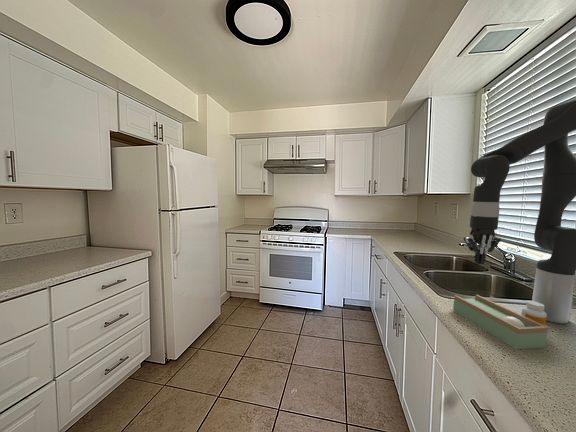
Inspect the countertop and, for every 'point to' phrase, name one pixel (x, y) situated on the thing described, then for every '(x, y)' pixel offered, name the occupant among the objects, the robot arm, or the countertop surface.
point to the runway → (501, 322)
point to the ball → (513, 321)
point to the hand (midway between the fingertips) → (479, 263)
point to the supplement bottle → (534, 312)
